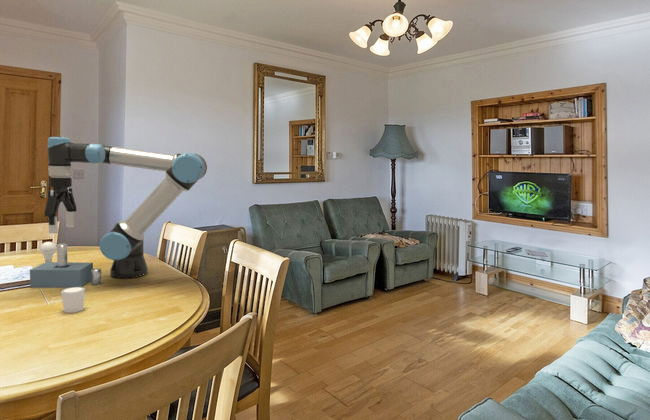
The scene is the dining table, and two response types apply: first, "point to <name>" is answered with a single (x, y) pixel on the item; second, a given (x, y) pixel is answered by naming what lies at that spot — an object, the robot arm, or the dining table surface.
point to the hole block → (60, 275)
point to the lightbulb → (48, 250)
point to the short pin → (96, 276)
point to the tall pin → (62, 255)
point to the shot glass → (73, 299)
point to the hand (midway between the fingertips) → (62, 230)
